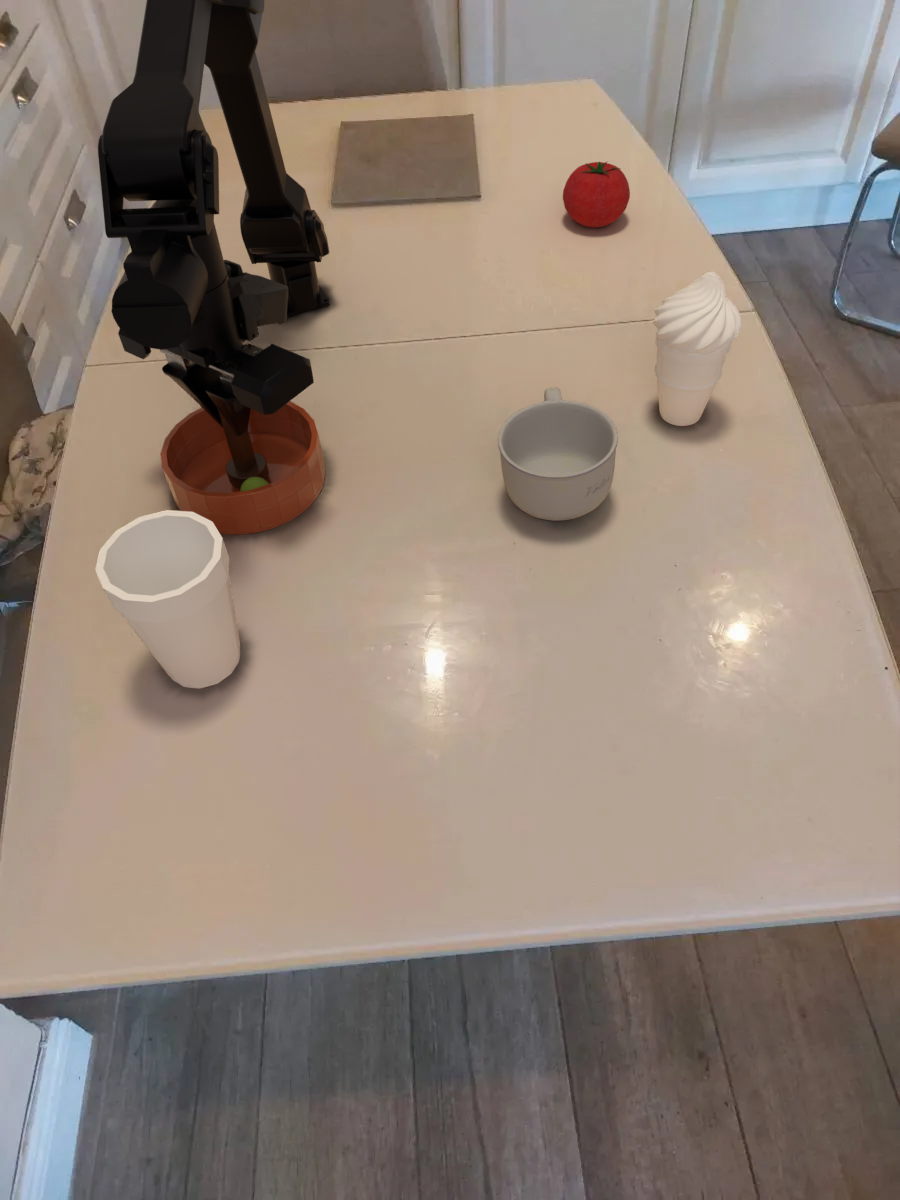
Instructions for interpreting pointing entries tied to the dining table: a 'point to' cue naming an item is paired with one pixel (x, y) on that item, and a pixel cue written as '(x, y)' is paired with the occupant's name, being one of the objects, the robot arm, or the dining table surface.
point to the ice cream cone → (692, 347)
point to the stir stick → (242, 457)
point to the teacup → (558, 457)
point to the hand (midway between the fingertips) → (235, 429)
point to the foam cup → (175, 593)
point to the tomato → (596, 194)
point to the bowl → (204, 452)
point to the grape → (253, 483)
